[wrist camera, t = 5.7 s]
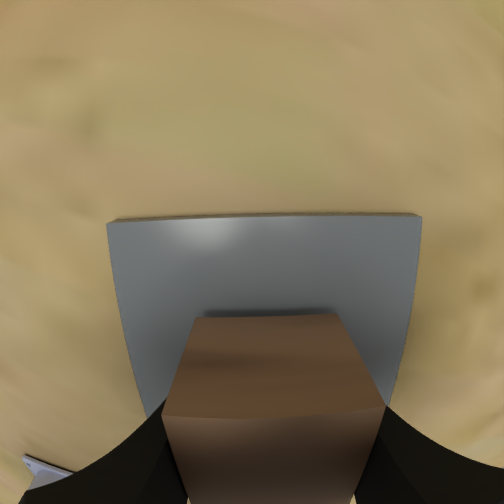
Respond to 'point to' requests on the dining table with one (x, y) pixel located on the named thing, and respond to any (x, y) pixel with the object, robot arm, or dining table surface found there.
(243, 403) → the walnut cube
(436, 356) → the dining table surface
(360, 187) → the dining table surface
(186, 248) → the coaster
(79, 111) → the dining table surface
